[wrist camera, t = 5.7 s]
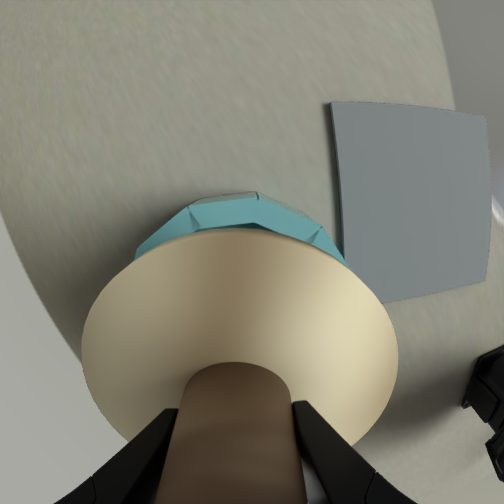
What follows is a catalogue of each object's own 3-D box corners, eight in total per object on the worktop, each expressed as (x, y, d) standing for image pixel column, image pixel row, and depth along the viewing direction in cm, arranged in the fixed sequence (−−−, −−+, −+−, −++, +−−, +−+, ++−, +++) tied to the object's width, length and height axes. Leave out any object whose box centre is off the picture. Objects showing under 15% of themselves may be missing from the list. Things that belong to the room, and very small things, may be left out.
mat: (481, 117, 14) (485, 116, 14) (482, 279, 17) (485, 280, 17) (329, 103, 14) (331, 101, 14) (343, 307, 17) (344, 310, 17)
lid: (392, 209, 7) (554, 268, 2) (369, 444, 10) (404, 542, 5) (58, 252, 8) (-75, 329, 2) (147, 461, 10) (120, 555, 5)
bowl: (328, 184, 15) (352, 188, 12) (333, 353, 18) (349, 392, 14) (135, 208, 16) (103, 219, 12) (172, 368, 18) (158, 408, 15)
